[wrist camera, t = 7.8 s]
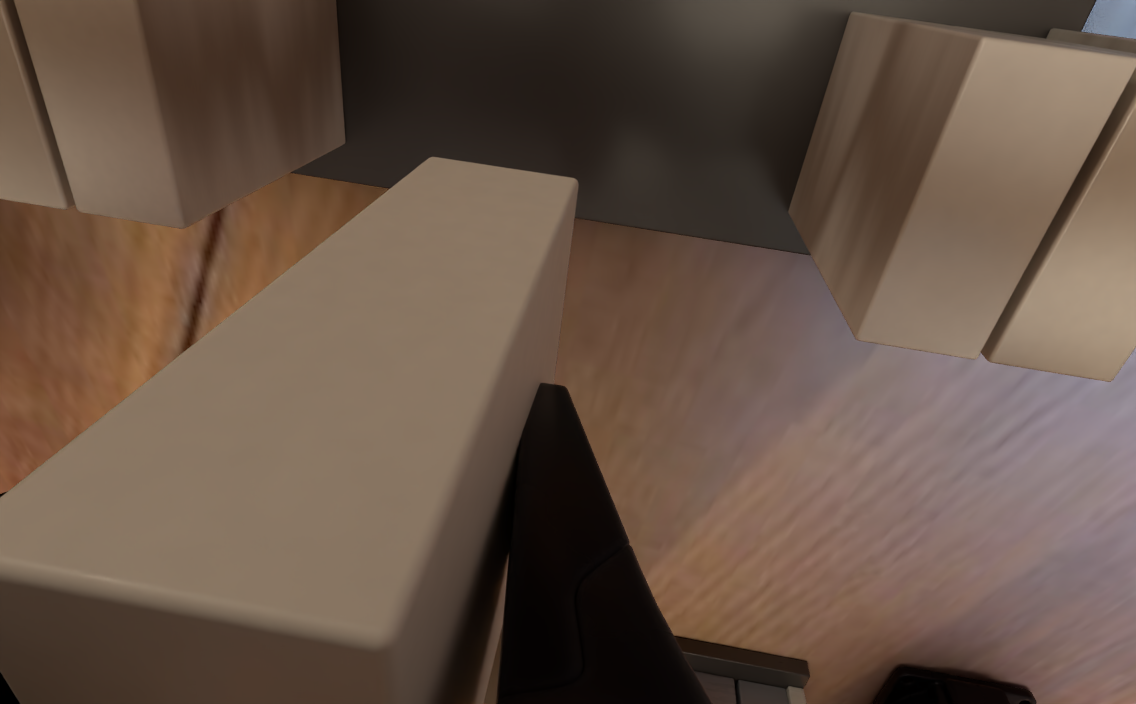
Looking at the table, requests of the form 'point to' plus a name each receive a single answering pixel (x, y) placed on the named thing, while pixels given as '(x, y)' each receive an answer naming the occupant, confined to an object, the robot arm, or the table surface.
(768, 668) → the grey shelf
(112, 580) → the beige rectangular block
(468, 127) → the slabs on dark base
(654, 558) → the table surface
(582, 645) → the robot arm
